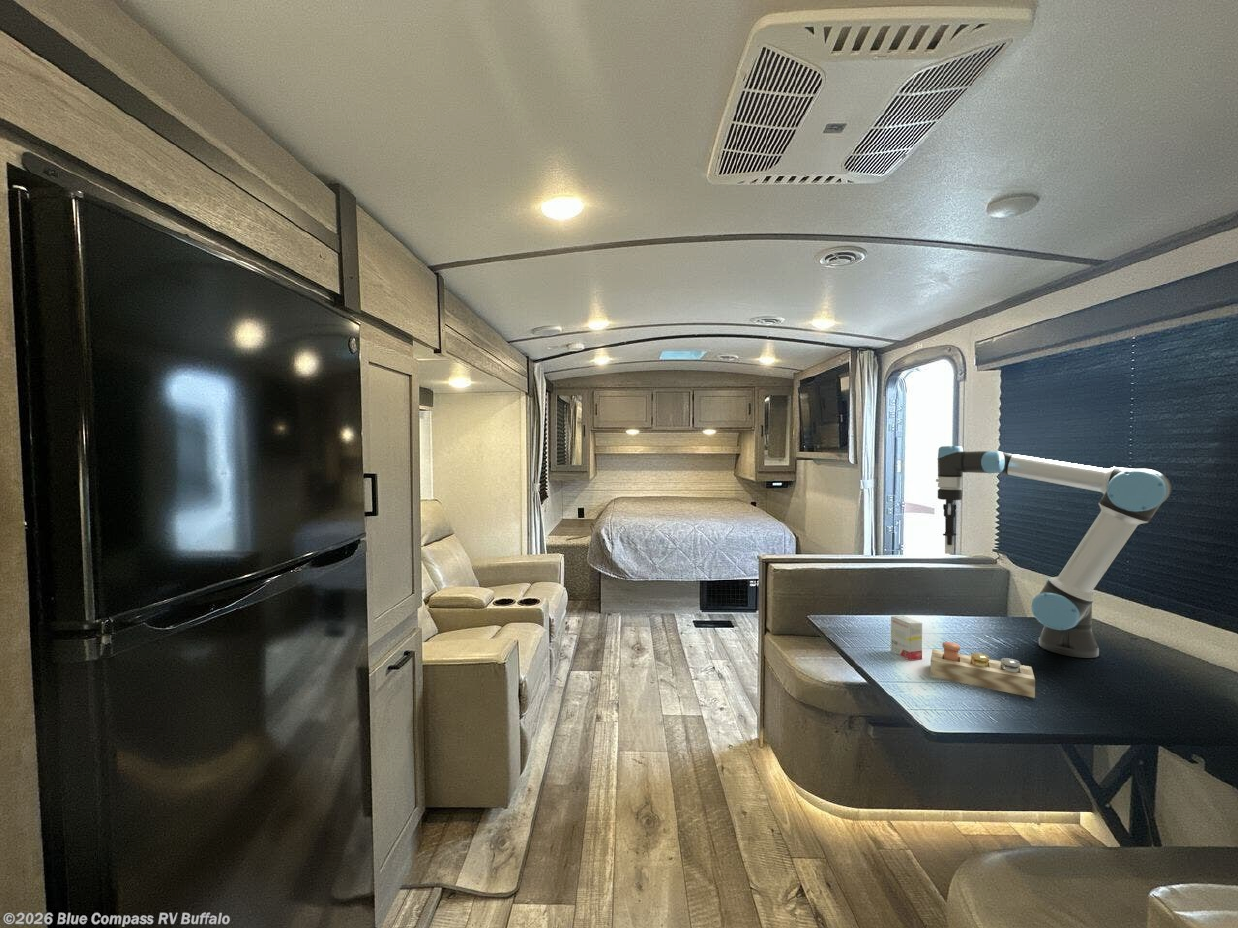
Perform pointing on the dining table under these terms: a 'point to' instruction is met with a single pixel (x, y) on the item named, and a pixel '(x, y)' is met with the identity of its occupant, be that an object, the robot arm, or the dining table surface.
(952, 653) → the plunger terracotta
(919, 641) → the ink box
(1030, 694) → the plunger block
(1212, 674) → the dining table surface
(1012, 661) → the plunger grey
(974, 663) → the plunger brass
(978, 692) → the dining table surface
